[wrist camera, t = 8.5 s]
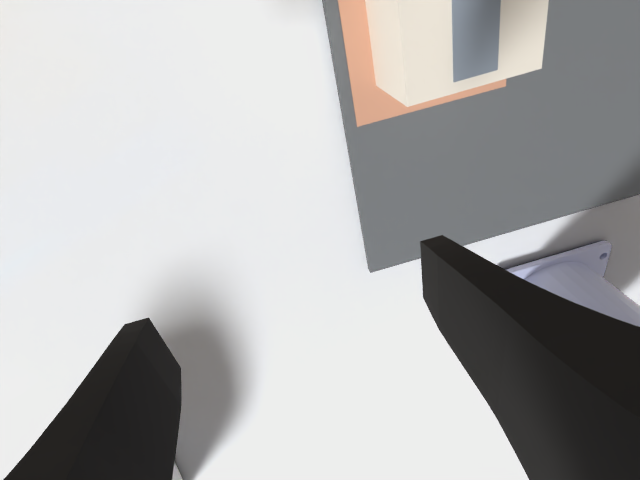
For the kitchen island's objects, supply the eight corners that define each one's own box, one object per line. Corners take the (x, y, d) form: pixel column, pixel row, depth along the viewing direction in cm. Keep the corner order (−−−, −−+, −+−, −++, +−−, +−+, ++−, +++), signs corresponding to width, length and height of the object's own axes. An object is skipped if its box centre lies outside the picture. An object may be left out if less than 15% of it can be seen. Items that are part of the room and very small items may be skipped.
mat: (640, 189, 23) (648, 192, 23) (368, 268, 23) (370, 273, 22) (813, -381, 12) (835, -395, 12) (277, -262, 11) (278, -271, 11)
